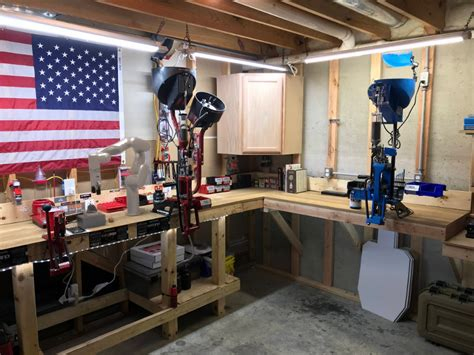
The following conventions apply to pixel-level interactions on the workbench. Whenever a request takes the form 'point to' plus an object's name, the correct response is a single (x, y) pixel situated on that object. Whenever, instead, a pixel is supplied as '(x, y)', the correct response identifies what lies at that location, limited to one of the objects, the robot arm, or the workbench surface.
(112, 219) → the bead
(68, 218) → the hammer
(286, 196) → the workbench surface
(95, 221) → the block
